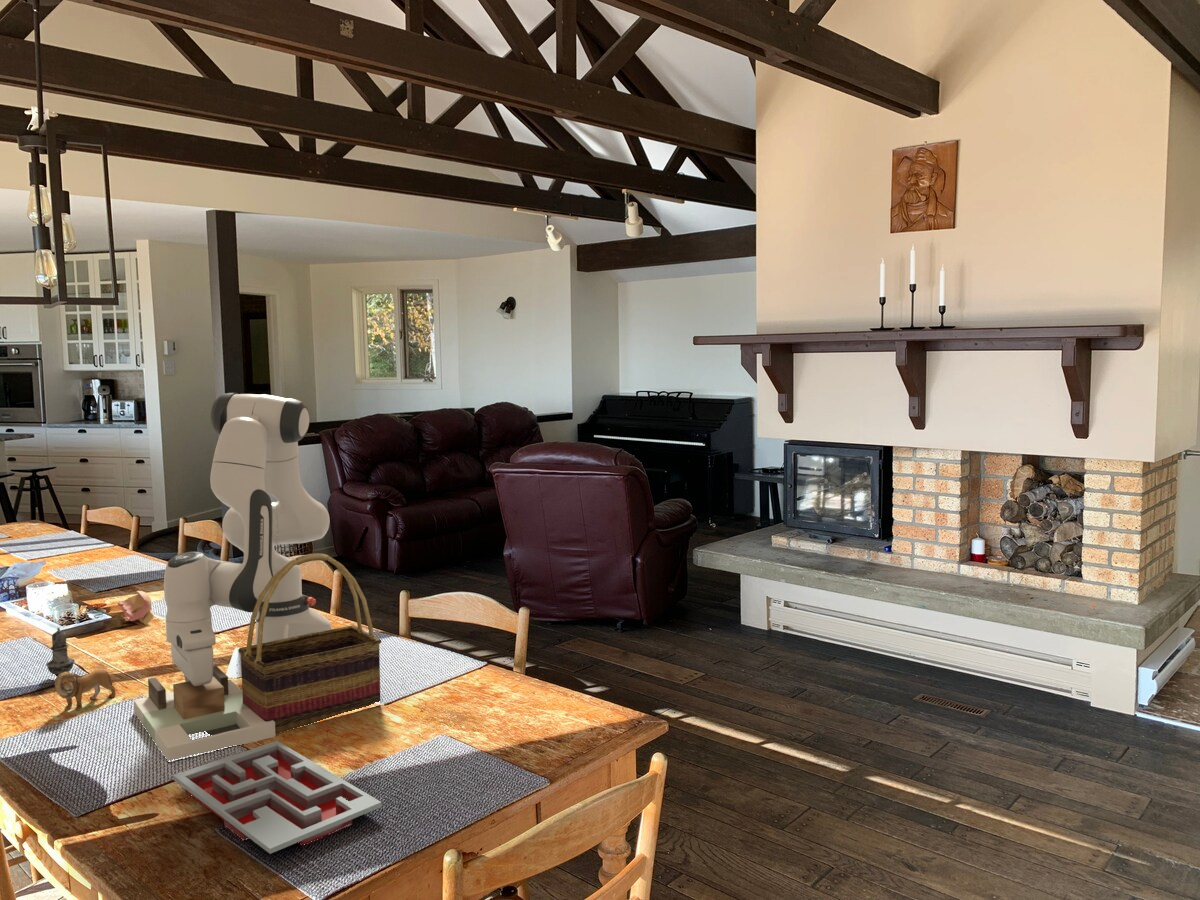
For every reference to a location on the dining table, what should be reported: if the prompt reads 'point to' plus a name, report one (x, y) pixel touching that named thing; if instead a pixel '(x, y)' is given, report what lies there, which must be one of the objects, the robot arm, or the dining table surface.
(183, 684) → the tan square block
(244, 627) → the dining table surface
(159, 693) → the dark brown bars
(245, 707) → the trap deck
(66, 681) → the lion figurine
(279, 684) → the basket
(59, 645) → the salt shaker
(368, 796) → the maze game
